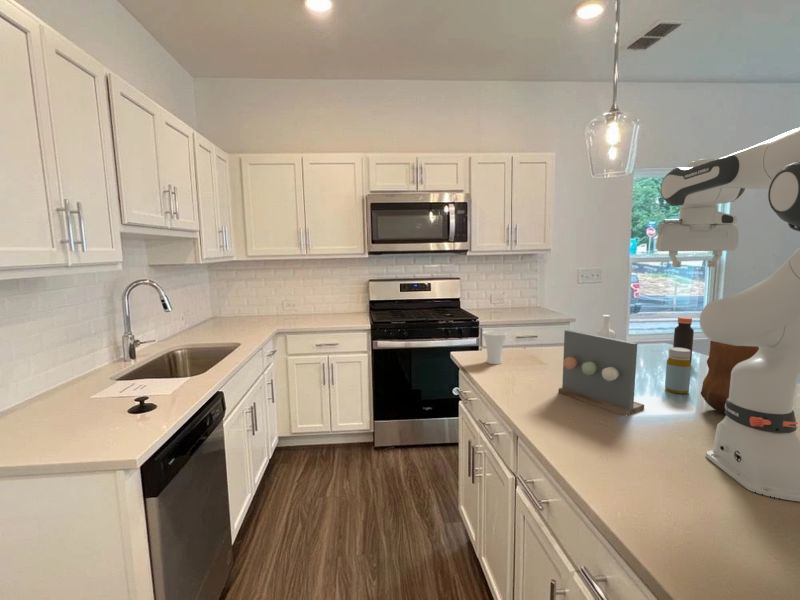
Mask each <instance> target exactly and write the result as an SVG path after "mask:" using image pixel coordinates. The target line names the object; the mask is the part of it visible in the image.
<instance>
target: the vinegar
mask: <svg viewBox="0 0 800 600" xmlns="http://www.w3.org/2000/svg"><path fill="white" fill-rule="evenodd" d="M692 321H693V318H692V317H687V316H678V317H677V324H678V325H677V326H675V328H674V330H673V331H674V332H673V333H674V334H673V343H672V344H673V346H672V347H679V348H686V349H689V350H690V351H691V353H690V362H691V363H692V359H693V358H692V357H693V346H694V333H695V331H694V329H693V328H692V326H691V325H692V323H693V322H692Z"/></svg>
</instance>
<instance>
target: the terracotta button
mask: <svg viewBox="0 0 800 600" xmlns="http://www.w3.org/2000/svg"><path fill="white" fill-rule="evenodd" d="M563 359H564V358H563ZM562 363H564V366H565V368H567V369H569V370H570V369H574V368H577V367H578V360H577V359H576V358H575V357H568V358H565V359H564V361H563V362H562Z"/></svg>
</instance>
